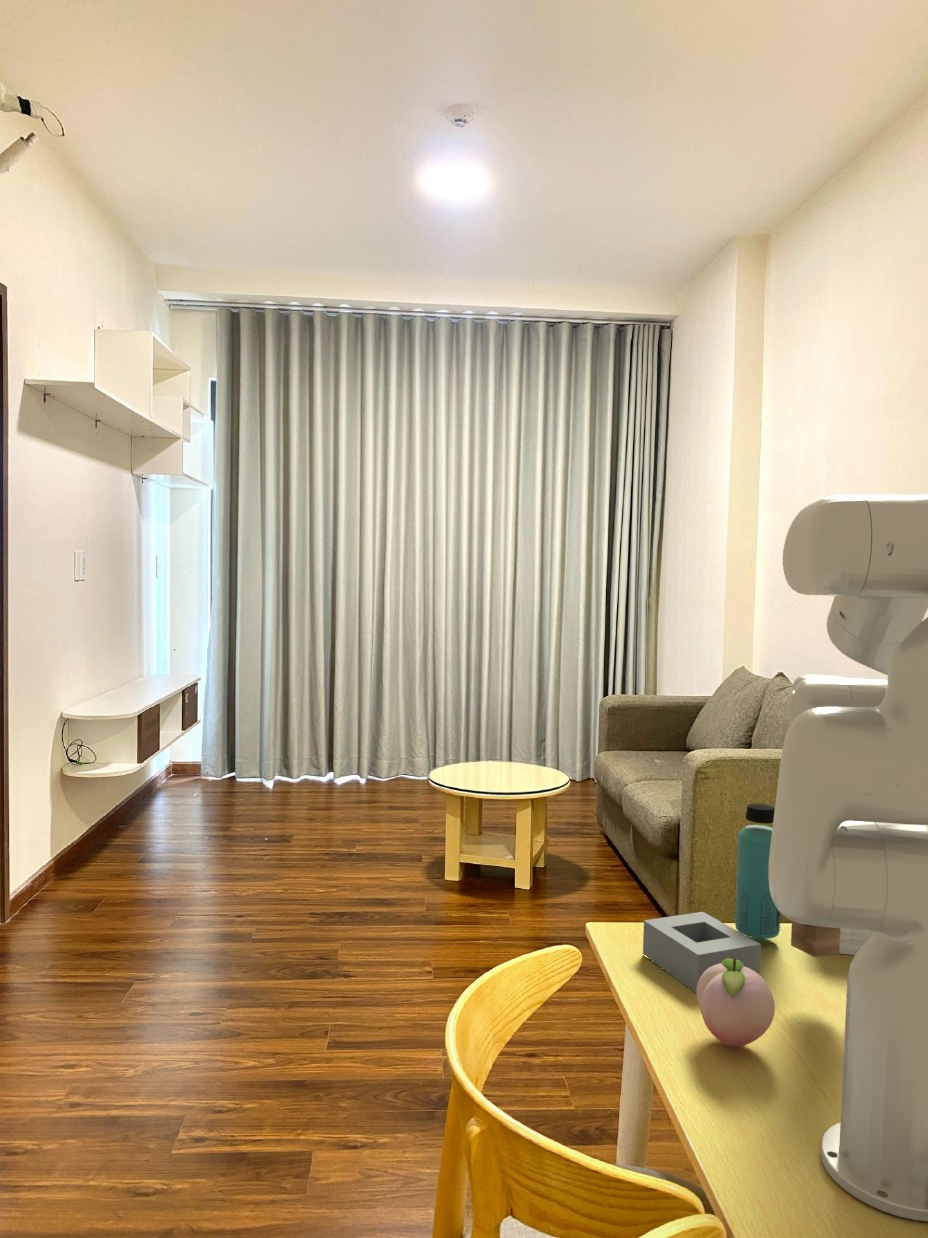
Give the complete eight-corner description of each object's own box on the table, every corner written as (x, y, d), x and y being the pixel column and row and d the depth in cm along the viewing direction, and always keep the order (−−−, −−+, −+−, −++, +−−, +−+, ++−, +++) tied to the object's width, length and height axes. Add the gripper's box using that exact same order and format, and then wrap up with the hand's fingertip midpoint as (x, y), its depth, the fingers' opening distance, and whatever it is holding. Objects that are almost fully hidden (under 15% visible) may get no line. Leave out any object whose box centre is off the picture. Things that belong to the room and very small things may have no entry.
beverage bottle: (783, 951, 128) (789, 812, 127) (734, 946, 130) (740, 809, 129) (776, 934, 135) (782, 801, 134) (730, 929, 136) (735, 798, 135)
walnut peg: (839, 953, 112) (842, 856, 112) (814, 957, 110) (818, 859, 110) (815, 941, 115) (818, 848, 115) (790, 945, 114) (794, 850, 114)
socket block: (759, 981, 118) (760, 944, 118) (696, 993, 115) (698, 955, 114) (701, 946, 129) (702, 911, 129) (642, 955, 126) (644, 920, 125)
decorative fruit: (781, 1071, 97) (785, 980, 96) (703, 1065, 98) (707, 975, 97) (761, 1027, 106) (765, 944, 106) (690, 1022, 107) (693, 940, 106)
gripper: (848, 766, 119) (843, 904, 119) (747, 771, 113) (742, 917, 113) (895, 776, 112) (889, 923, 113) (790, 783, 106) (785, 938, 106)
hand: (815, 918), depth 113 cm, fingers closed on walnut peg, 4 cm apart
